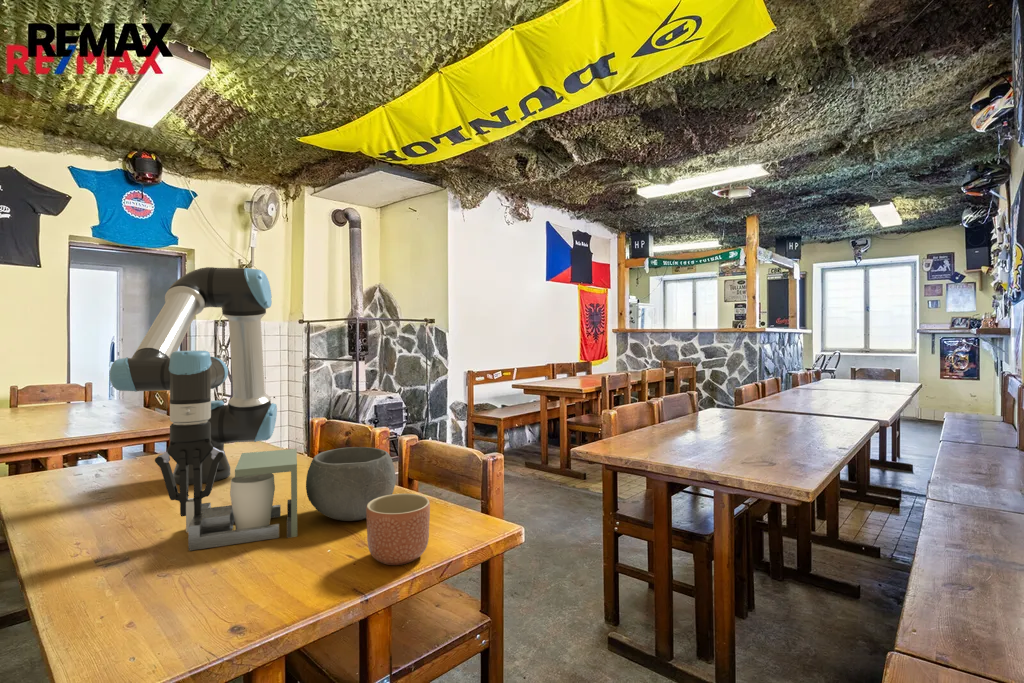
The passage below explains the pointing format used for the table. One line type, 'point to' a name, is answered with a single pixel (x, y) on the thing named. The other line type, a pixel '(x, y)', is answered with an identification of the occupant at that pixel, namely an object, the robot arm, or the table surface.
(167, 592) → the table surface
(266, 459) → the shelf
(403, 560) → the planter
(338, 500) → the bowl
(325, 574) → the table surface
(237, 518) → the cup
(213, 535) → the frame
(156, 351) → the robot arm
